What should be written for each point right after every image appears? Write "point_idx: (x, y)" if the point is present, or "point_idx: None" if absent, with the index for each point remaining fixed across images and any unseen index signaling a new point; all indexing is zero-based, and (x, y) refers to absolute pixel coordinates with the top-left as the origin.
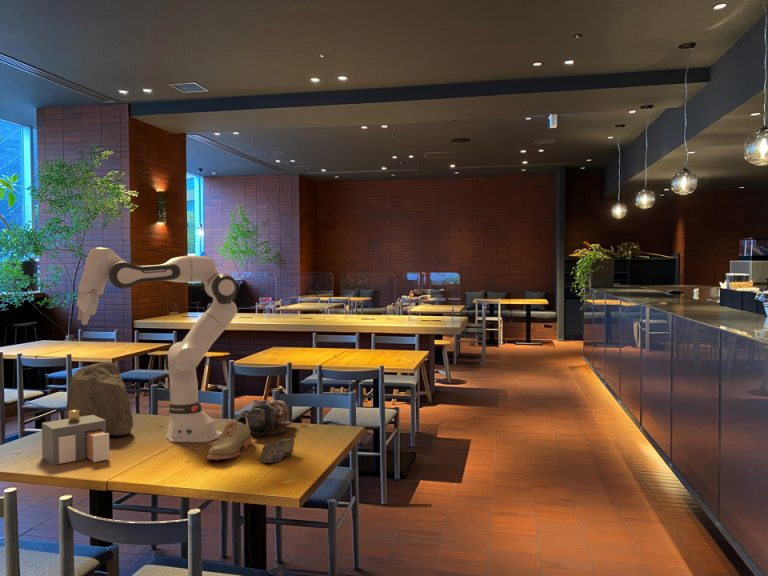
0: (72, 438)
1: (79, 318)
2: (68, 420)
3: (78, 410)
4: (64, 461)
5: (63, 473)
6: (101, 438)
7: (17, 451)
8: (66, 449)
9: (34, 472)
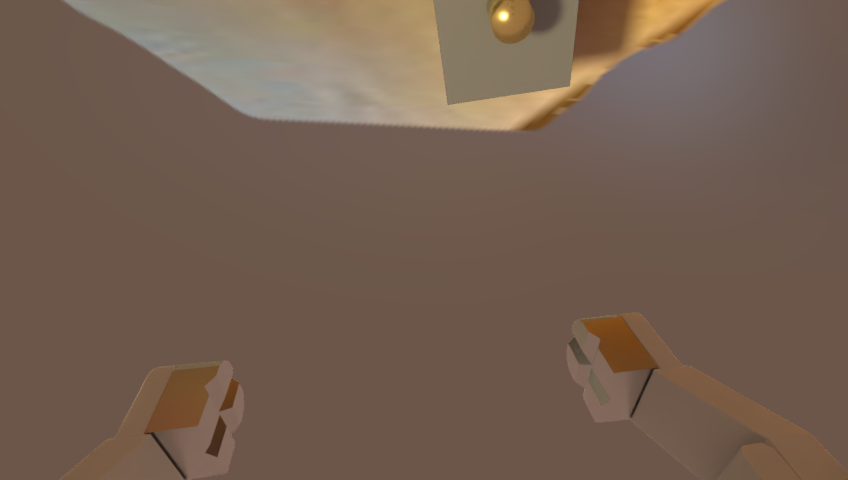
0: None
1: (233, 413)
2: (470, 21)
3: (520, 3)
4: None
5: (641, 21)
6: None
7: (335, 100)
8: None
9: None
